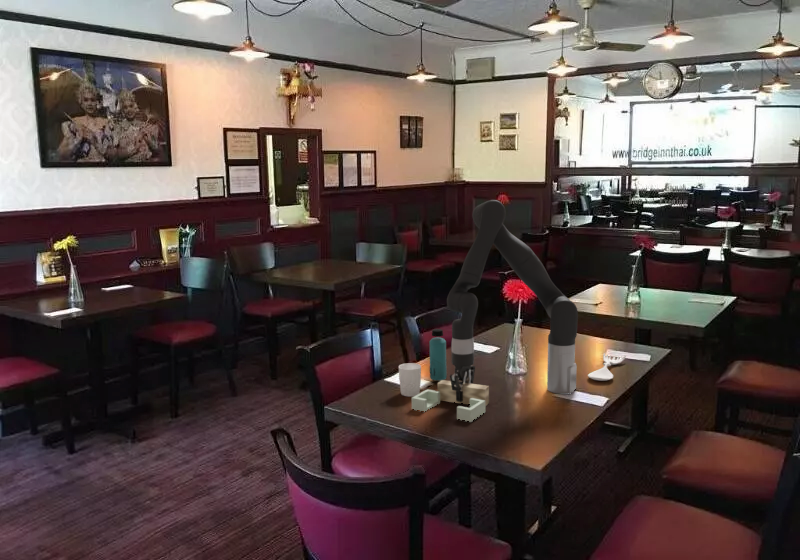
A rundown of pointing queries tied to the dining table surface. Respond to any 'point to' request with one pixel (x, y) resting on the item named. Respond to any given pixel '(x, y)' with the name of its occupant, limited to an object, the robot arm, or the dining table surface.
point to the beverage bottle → (438, 356)
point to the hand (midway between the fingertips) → (463, 398)
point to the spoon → (605, 369)
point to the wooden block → (468, 392)
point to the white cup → (410, 379)
